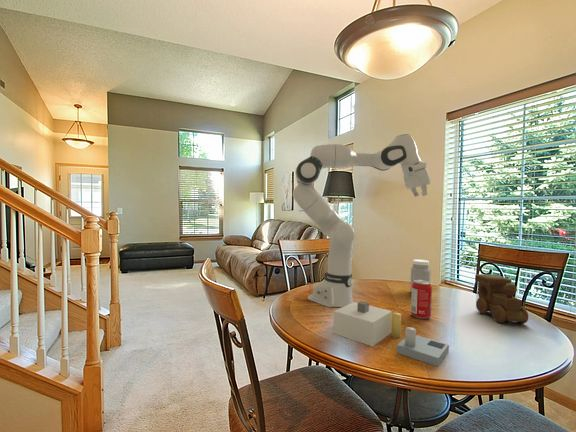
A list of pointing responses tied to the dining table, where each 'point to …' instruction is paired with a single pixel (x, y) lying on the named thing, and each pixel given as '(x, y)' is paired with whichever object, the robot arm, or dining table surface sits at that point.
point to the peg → (396, 325)
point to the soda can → (421, 299)
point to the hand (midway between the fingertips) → (420, 195)
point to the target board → (422, 348)
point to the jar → (420, 271)
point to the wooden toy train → (499, 299)
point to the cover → (362, 323)
